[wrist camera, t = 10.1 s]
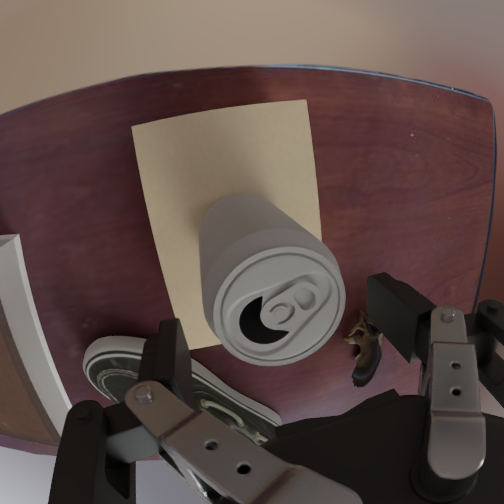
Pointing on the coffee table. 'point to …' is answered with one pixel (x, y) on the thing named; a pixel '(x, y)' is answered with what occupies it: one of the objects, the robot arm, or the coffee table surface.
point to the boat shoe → (203, 386)
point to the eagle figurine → (365, 350)
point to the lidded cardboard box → (220, 185)
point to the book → (26, 358)
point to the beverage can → (266, 282)
